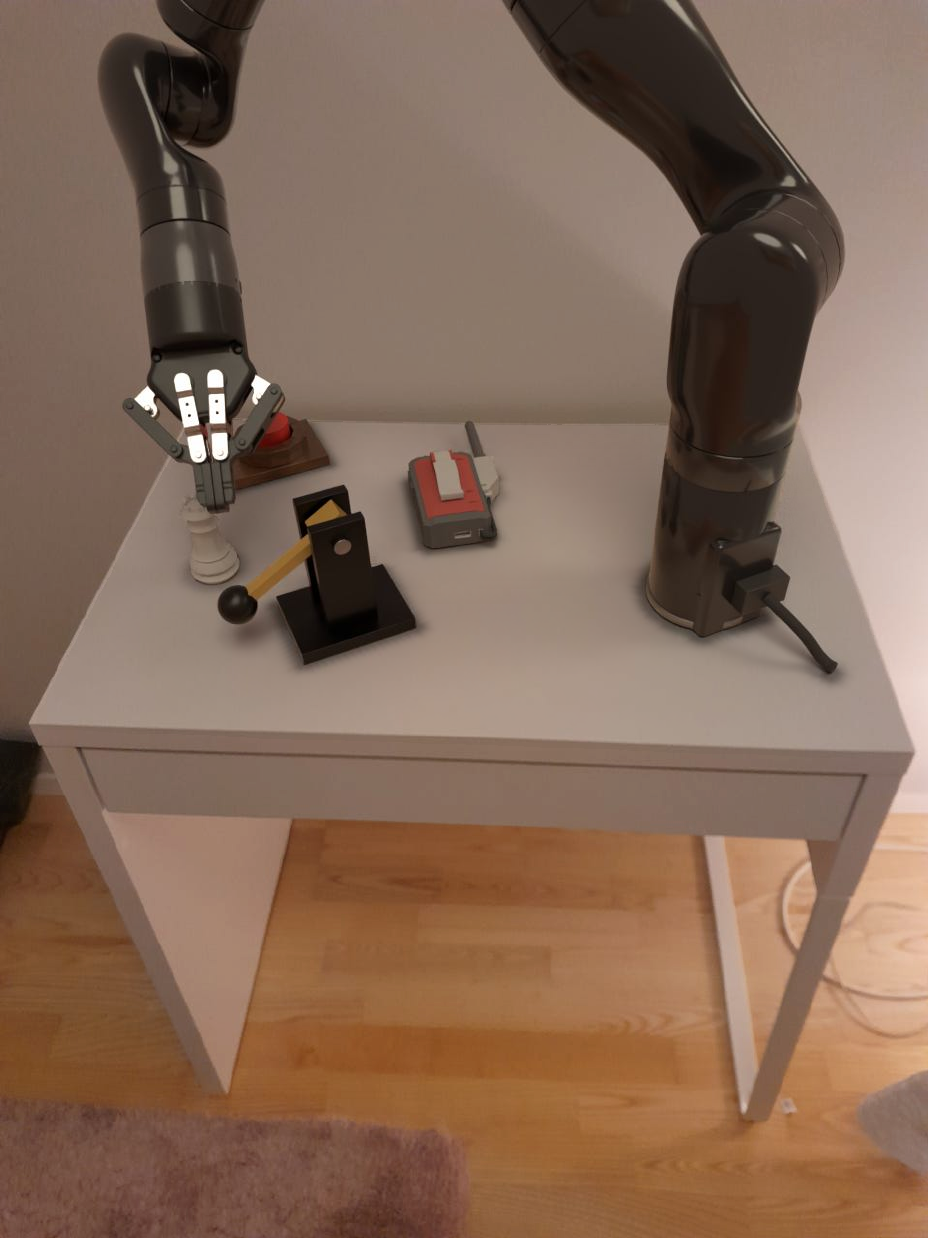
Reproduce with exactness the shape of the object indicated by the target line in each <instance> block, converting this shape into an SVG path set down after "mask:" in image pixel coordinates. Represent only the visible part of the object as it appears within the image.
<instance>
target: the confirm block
mask: <svg viewBox="0 0 928 1238" xmlns="http://www.w3.org/2000/svg"><path fill="white" fill-rule="evenodd" d="M286 416H287V418H288V423H289V428H290V433H291V434H290V438H289V439H288V440H286V441H285V442H283V443H282V444H279V445H275V446H271V447H257V448H256V449H255V451H254V452H253V454H252V455H250V456H243V457H241V458H239V459H237V460H236V461H235V462H234V464H233V474H234V482H235V489H236V490H241V489H244V488H248V487H252V486H255V485H258V484H259V485H260V484H262V483H266V482H270V481H274V480H277V479H281V478H285V477H288V476H292V475H296V474H299V473H303V472H306V471H310V470H311V471H312V470H314V469H319V468H322V467H326V466H329V465H331V462H330V457H329V456H330V455H329V454H328V452H327V450H326V449H325V447H324V445H323V443H322V442H321V440H320V439H319V437H318V436H317V434H316V432H315V430H314V429H313V427H312V426H311V423H310V422H309V420H308V419H307V418H304V419H300V420H299V419H296V418H294V417H291V416H289V415H286ZM244 424H245V422H244V423H243V424H240V425H239V426H238V427H237V428H236V430H235V432H234V433H233V438H232V440H233V439H235V438H236V436H237V435H238V433H239V432H240V430H241V428H242V427H243V425H244Z"/></svg>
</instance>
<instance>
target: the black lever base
mask: <svg viewBox="0 0 928 1238" xmlns="http://www.w3.org/2000/svg"><path fill="white" fill-rule="evenodd" d="M291 500H292V505H293V511H294V515H295V521H296V526H297V530H298V535H299V541H300V540H301V539H302V538H303V537H305V536H306V535H307V534H308V536H309V541H310V546H311V552H312V554H311V555H310V556H309V557H308V558H307V559H305V560H304V561H303V562H304V566H305V572H306V576H307V581H308V586H305V587H301V588H298V589H295V590H292V591H288V592H285V593H282V594H279V595H276V596H275V599H276V603H277V607H278V609H279V612H280V614H281V616H282V618H283V620H284V623H285V625H286V627H287V630H288V632H289V634H290V637H291V638H292V640H293V643H294V645H295V647H296V650H297V652H298V654H299V657H300V659H301V661H302V662H303V665H304V666H306V665H308V664H311V663H314V662H318V661H321V660H324V659H327V658H329V657H333V656H336V655H339V654H342V653H345V652H349V651H351V650H354V649H357V648H361V647H364V646H366V645H369V644H372V643H375V642H378V641H382V640H386V639H388V638H390V637H393V636H396V635H400V634H403V633H405V632H409V631H413V630H415V629H417V623H416V617H415V616H414V614H413V612H412V611H411V609H410V607H409V605H408V604H407V602H406V600H405V599H404V597H403V596H402V594H401V592H400V590H399V589H398V587H397V585H396V584H395V582H394V581H393V579H392V577H391V575H390V574H389V572H388V569H386V567H385V565H384V564H383V563H380V564H376V565H374V566H372V562H371V556H370V555H371V554H370V546H369V539H368V533H367V532H368V531H367V524H366V517H365V516H364V514H363V513H362V511H361V510H359V511H355V512H352V509H351V500H350V494H349V490H348V488H347V486H346V485H345V484H341V485H338V486H337V485H336V486H333V487H330V488H329V487H328V488H325V489H322V490H319V491H314V492H311V493H308V494H307V493H306V494H305V495H301V496H300V495H299V496H297V497H293V498H292V499H291ZM330 500H332V501H333V502H334V503H335V504H337V505H338V506H339V507H340V508H341V509H342V510H343V511H344V512H345V513H346V514H347V515H345V516H342V517H338V518H335V519H331V520H328V521H324V522H321V523H317V524H314V525H311V526H307V525H306V523H305V521H306V520H307V519H308V518H310V517H311V516H312V515H313V514H314V513H315V512H317V511H318V510H319V509H320V508H321V507H323V506H324V505H325V504H326V503H327V502H328V501H330Z"/></svg>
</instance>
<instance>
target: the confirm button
mask: <svg viewBox="0 0 928 1238" xmlns="http://www.w3.org/2000/svg"><path fill="white" fill-rule="evenodd" d="M287 416H288V415H287V414H285V413H283V412H280V411H279V412H278V414H277V415H276V417H275V419H274V420H273V422H272V423H271V425H270V427H269V428H268V430H267V431H266V433H265V435H264V436H263V438H262V439H261V441H260V443H259V444H258V446H257V447H271V446H275V445H279V444H282V443H283V442H285V441H286V440H288V439H289V438H290V434H291V433H290V428H289V423H288V418H287Z"/></svg>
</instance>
